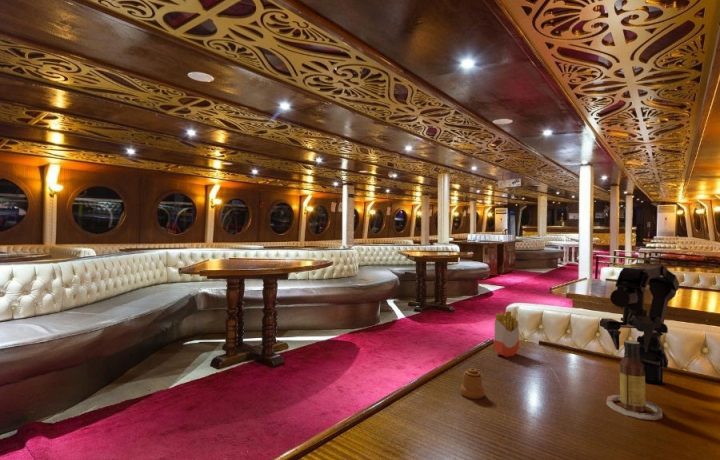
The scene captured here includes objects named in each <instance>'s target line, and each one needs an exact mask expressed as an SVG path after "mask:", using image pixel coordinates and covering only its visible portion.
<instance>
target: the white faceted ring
mask: <svg viewBox="0 0 720 460" xmlns="http://www.w3.org/2000/svg"><path fill="white" fill-rule="evenodd" d="M616 401H620V394H614V395H608V396H607V397H606V406H608V407H609V408H610V409H612V410H613V411H616V412H618V413H619V414H622V415H623V416H628V417H631V418H636V419H640V420H648V421H649V420H651V421H656V420H661V419H663V409H662V408H661V407H660V406H658V405H656V404H655V403H653V402H650V401H647V400H646V405H645V408H646V407H647V408H648V409H650V410H653V413H646V412H634V411H630V410H627V409H626V408H623V407H622V406H619V405H617V404H616V403H614V402H616Z"/></svg>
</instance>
